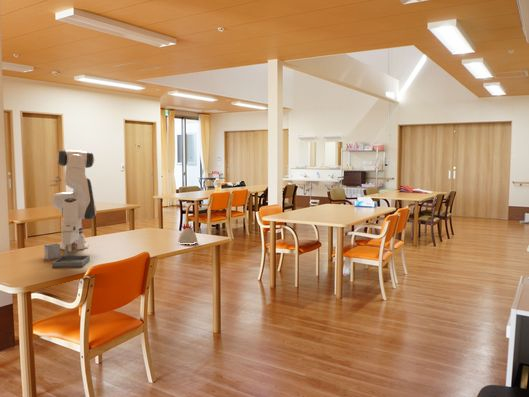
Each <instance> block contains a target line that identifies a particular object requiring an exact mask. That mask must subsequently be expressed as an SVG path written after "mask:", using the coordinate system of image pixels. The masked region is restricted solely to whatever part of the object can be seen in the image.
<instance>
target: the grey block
mask: <svg viewBox="0 0 529 397" xmlns="http://www.w3.org/2000/svg"><path fill="white" fill-rule="evenodd" d="M64 256H78V252H77V253H75V254H66V246H65V250H64Z"/></svg>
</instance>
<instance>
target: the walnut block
mask: <svg viewBox="0 0 529 397" xmlns="http://www.w3.org/2000/svg"><path fill="white" fill-rule="evenodd" d="M71 246H72V251H68V246H67V245H66V254H75V253H77V254H78V250H77V244H72V245H71Z"/></svg>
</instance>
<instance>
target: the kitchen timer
mask: <svg viewBox="0 0 529 397" xmlns="http://www.w3.org/2000/svg"><path fill="white" fill-rule="evenodd" d="M181 226H182V229H183V230H182V231H181V232H180V233H179V236H178V239H177V243H178V242H180V243H194V242H197V243H198V237H197V235H196V232H195V231H194V230H193V228H194V226H192V224H189V223H183V225H181Z"/></svg>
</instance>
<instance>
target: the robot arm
mask: <svg viewBox="0 0 529 397" xmlns="http://www.w3.org/2000/svg"><path fill="white" fill-rule="evenodd" d="M56 160H57V163H58V165H59V166H61V167H65V176H64V183H65V185H66V187H68V188H70V189H72V191H62V192H57V193H54V194H53V196H52V198H51V204H52V206H53V207H55V208H56V209H57V210H59V212H60V213H61V215H62V216H61V217H63V218H62V227H61V228H60V231H61V232H62V234H61V243H60V250H64V251H65V246H66V245H67V246H68V251H72V246H71V245H72V244H77V251H79V250H82V249H83V250H84V249H89V244H90V243H89V242H87V241H86V237H85V235H84V233H83V231H84V230H83V229H84V227H83V224H82V223H83V222H82V220H90V221H91V220H92V219H94V218H96V215H97V207H96V205H95V199H94V198H95V197H94V194H93V187H92V186H93V185H92V182H91V180H90V178H88V177H87V175H86V169H87V168H91V167H93V165H94V163H95V156H94V154H93V152H90V151H86V150H85V151H83V150H75V149H67V150H66V149H61V150H59V151H58V153H57V155H56Z"/></svg>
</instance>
